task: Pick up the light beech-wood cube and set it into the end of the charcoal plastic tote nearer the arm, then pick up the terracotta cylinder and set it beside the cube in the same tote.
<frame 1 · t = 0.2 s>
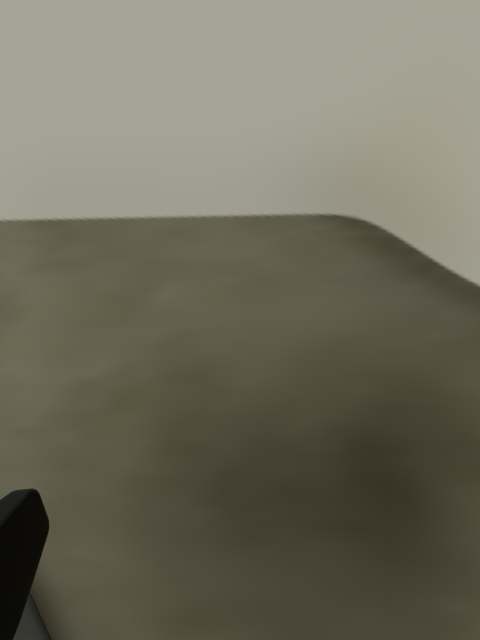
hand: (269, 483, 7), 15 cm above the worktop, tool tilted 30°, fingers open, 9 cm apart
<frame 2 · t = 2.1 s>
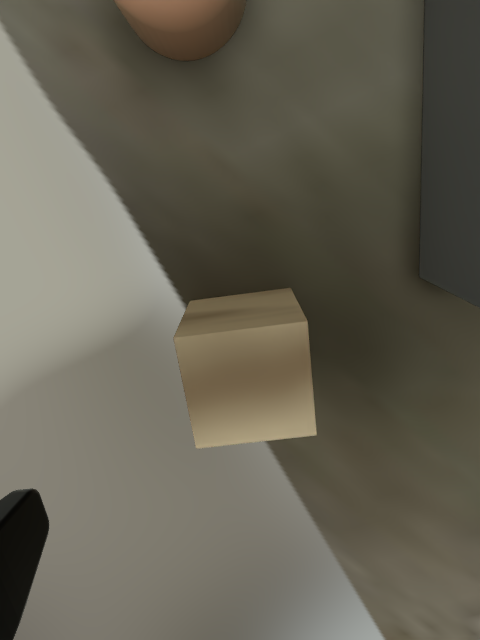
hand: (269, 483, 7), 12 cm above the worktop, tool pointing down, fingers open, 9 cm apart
beech cube: (246, 340, 20), on the worktop
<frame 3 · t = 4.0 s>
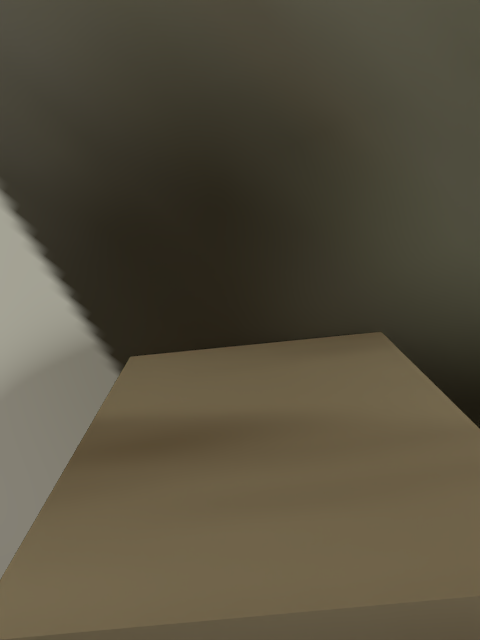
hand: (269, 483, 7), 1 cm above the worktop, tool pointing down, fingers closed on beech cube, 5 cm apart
beech cube: (264, 447, 8), on the worktop, touching gripper
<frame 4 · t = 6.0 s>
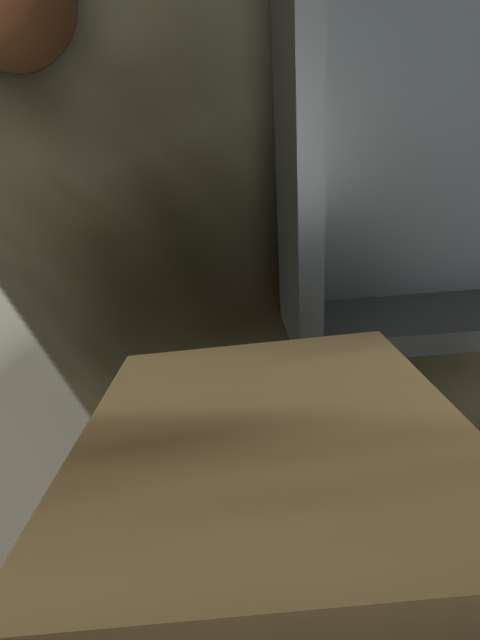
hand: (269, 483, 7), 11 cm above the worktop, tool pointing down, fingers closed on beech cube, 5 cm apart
beech cube: (262, 447, 8), point 10 cm above the worktop, touching gripper
tote: (448, 89, 15), on the worktop
when the fingers open (4 cm above the worktop, at t = 8.2 s): beech cube drops 3 cm, resting on tote.
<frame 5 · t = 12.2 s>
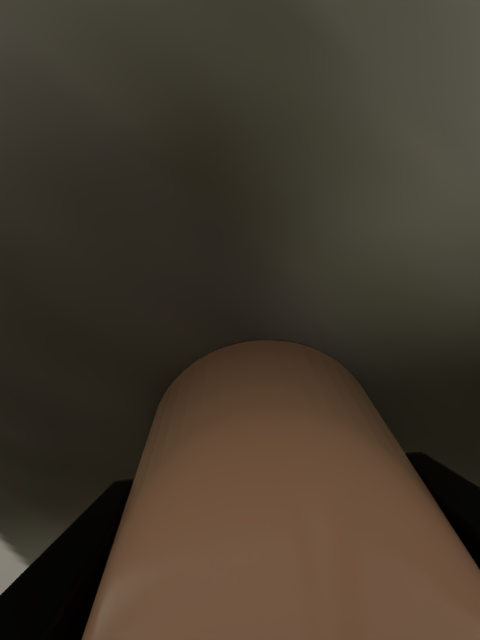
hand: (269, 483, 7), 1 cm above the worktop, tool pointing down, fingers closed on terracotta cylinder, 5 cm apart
terracotta cylinder: (263, 442, 9), on the worktop, touching gripper
when the fingers open (5 cm above the worktop, at t = 16.2 s): terracotta cylinder drops 3 cm, resting on tote.
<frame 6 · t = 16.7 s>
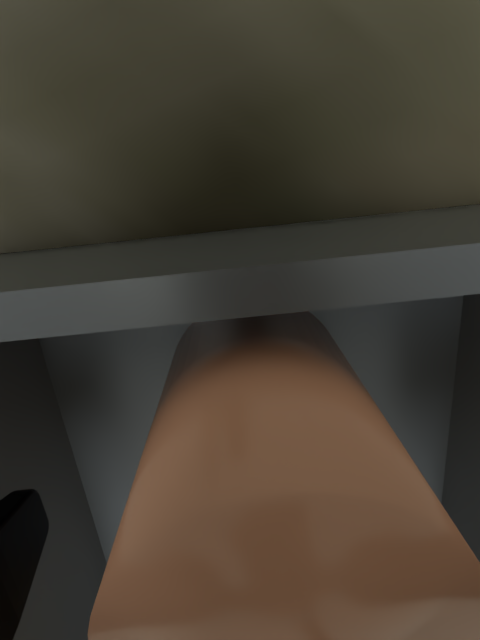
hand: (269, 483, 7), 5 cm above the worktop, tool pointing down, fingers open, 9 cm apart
terracotta cylinder: (255, 376, 11), point 1 cm above the worktop, touching tote
tote: (265, 482, 13), on the worktop
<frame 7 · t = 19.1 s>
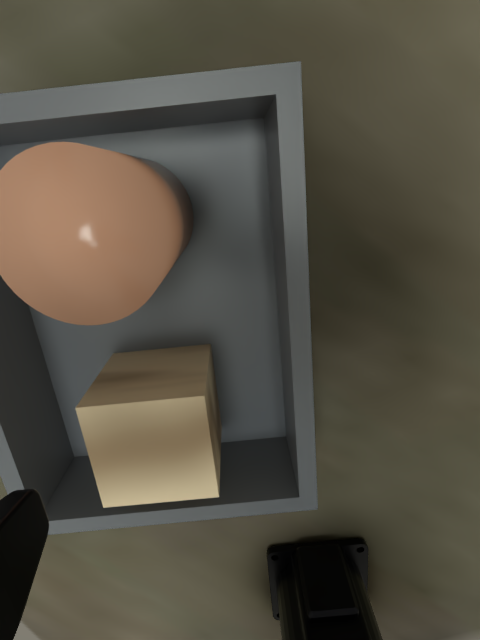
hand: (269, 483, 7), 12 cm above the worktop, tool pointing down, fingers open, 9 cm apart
beech cube: (169, 391, 20), point 1 cm above the worktop, touching tote
terracotta cylinder: (137, 217, 17), point 1 cm above the worktop, touching tote
tote: (157, 308, 19), on the worktop
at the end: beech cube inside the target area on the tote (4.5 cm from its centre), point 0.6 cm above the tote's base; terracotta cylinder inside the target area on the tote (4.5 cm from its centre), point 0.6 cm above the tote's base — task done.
